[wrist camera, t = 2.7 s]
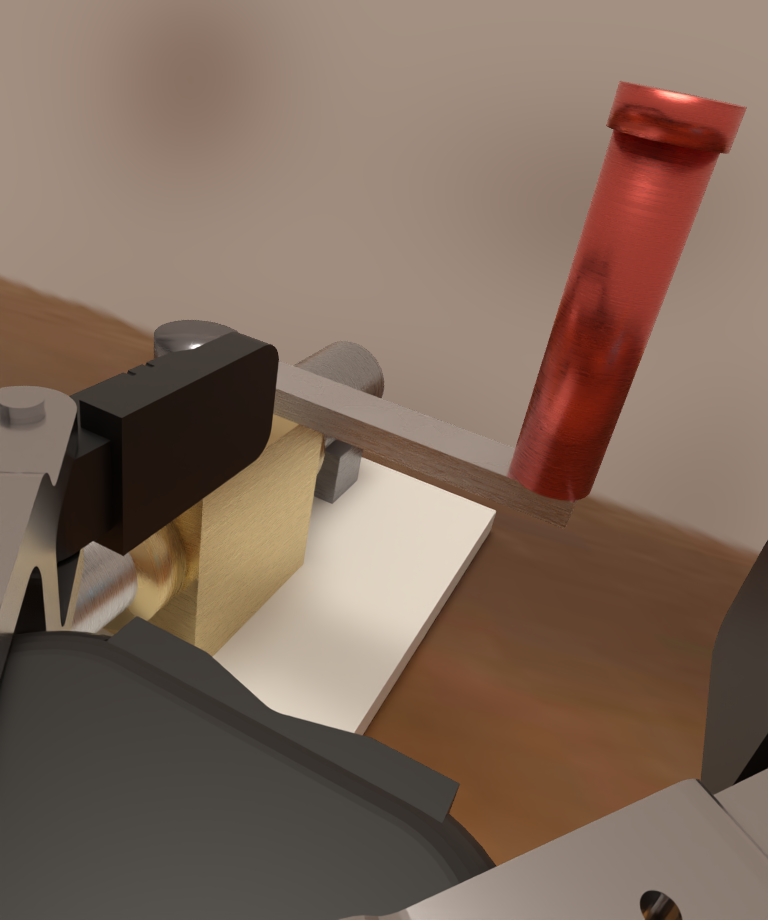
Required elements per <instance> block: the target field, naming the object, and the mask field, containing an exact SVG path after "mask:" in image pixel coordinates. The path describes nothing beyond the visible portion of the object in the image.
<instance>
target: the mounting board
mask: <svg viewBox="0 0 768 920" xmlns="http://www.w3.org/2000/svg"><path fill="white" fill-rule="evenodd" d="M495 514H496V511H495V510H493V509H490V508H488V507H485V506H483V505H480V504H478V503H475V502H473V501H470V500H468V499H465V498H463V497H460V496H458V495H455V494H453V493H450V492H448V491H445V490H443V489H440V488H437V487H435V486H432V485H430V484H427V483H425V482H422V481H420V480H417V479H415V478H412V477H410V476H407V475H405V474H402V473H400V472H397V471H395V470H392V469H390V468H387V467H385V466H382V465H380V464H377V463H375V462H372V461H370V460H367V459H365V458H362V457H361V463H360V468H359V473H358V479H357V481H356V482H355V483H354V484H353V485H352V486H351V487H350V488H349V489H348V490H347V491H346V492H345V493H344V494H343V495H341V496H340V497H339V498H338V499H337V500H336V501H335V502H334V503H333V504H331V503H329V502H326V501H324V500H322V499H319V498H317V497H314V496H313V503H312V510H311V516H310V523H309V530H308V536H307V543H306V550H305V556H304V563H303V565H302V566H301V567H300V568H299V569H298V570H297V571H296V572H295V573H294V574H293V575H292V576H291V577H290V578H289V579H288V580H287V581H286V582H285V583H284V584H283V585H282V586H281V587H280V588H279V590H278V591H277V592H276V593H275V594H274V595H273V596H272V597H271V598H270V599H269V600H268V601H267V602H266V603H265V604H264V605H263V606H262V607H261V608H260V609H259V610H258V611H257V612H256V613H255V614H254V615H253V616H252V617H251V618H250V619H249V620H248V621H247V622H246V623H245V624H244V625H243V626H242V627H241V628H240V629H239V630H238V631H237V632H236V633H235V634H234V635H233V636H232V637H231V638H230V640H229V641H228V642H227V643H226V644H225V645H224V646H223V647H222V648H221V649H220V650H219V651H218V652H217V653H216V654H215V655H214V656H213V658H214V659H215V660H216V661H218V662H219V663H220V664H221V665H222V666H223V667H224V668H225V669H226V670H227V671H229V672H230V673H231V674H232V675H233V676H234V677H235V678H236V679H237V680H239V681H240V682H241V683H242V684H243V685H244V686H245V687H246V688H247V689H249V690H250V691H251V692H252V693H253V694H254V695H255V696H256V697H257V698H259V699H260V700H261V701H262V702H263V703H264V704H265V705H266V706H268V707H269V708H270V709H272V710H274V711H276V712H279V713H282V714H285V715H289V716H292V717H296V718H300V719H303V720H307V721H311V722H315V723H318V724H322V725H326V726H329V727H333V728H337V729H341V730H344V731H348V732H352V733H355V734H359V735H363V734H364V732H365V731H366V729H367V727H368V726H369V724H370V723H371V721H372V719H373V718H374V716H375V715H376V713H377V711H378V710H379V708H380V707H381V705H382V703H383V702H384V700H385V699H386V697H387V695H388V694H389V692H390V691H391V689H392V687H393V686H394V684H395V683H396V681H397V679H398V678H399V676H400V675H401V673H402V671H403V670H404V668H405V667H406V665H407V663H408V662H409V660H410V659H411V657H412V655H413V654H414V652H415V651H416V649H417V648H418V646H419V644H420V643H421V641H422V640H423V638H424V636H425V635H426V633H427V632H428V630H429V628H430V627H431V625H432V624H433V622H434V620H435V619H436V617H437V616H438V614H439V612H440V611H441V609H442V608H443V606H444V604H445V603H446V601H447V600H448V598H449V596H450V595H451V593H452V592H453V590H454V588H455V587H456V585H457V584H458V582H459V580H460V579H461V577H462V576H463V574H464V572H465V571H466V569H467V568H468V566H469V564H470V563H471V561H472V560H473V558H474V556H475V555H476V553H477V552H478V550H479V548H480V547H481V545H482V544H483V542H484V540H485V539H486V537H487V536H488V534H489V532H490V530H491V527H492V524H493V520H494V517H495ZM97 634H104V635H108V636H113V635H114V634H112V633H110V632H108V631H106V630H104V629H103V628H102V629H101V630H99V631H98V632H97Z"/></svg>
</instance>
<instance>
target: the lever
mask: <svg viewBox="0 0 768 920" xmlns="http://www.w3.org/2000/svg"><path fill="white" fill-rule="evenodd" d="M745 111H746V107H743V106H739V105H735V104H730V103H726V102H722V101H717V100H713V99H708V98H703V97H699V96H694V95H689V94H685V93H679V92H675V91H670V90H665V89H660V88H655V87H650V86H645V85H640V84H634V83H629V82H623V81H620V82H619V85H618V89H617V92H616V96H615V98H614V102H613V105H612V108H611V112H610V115H609V118H608V122H607V125H606V126H607V127H609V128H611V129H614V130H613V133H612V136H611V140H610V143H609V146H608V149H607V153H606V156H605V159H604V162H603V165H602V169H601V172H600V175H599V179H598V182H597V185H596V188H595V192H594V195H593V198H592V201H591V204H590V208H589V211H588V214H587V217H586V221H585V224H584V227H583V230H582V234H581V237H580V240H579V244H578V247H577V250H576V253H575V256H574V260H573V263H572V266H571V269H570V273H569V276H568V279H567V283H566V286H565V289H564V292H563V296H562V299H561V302H560V305H559V308H558V312H557V315H556V318H555V321H554V325H553V328H552V331H551V334H550V338H549V341H548V344H547V347H546V351H545V354H544V357H543V360H542V364H541V367H540V370H539V373H538V377H537V380H536V384H535V386H534V390H533V393H532V396H531V399H530V402H529V406H528V409H527V412H526V416H525V419H524V422H523V425H522V429H521V432H520V435H519V438H518V441H517V445H516V448H514V447H511V446H508V445H505V444H503V443H500V442H498V441H495V440H492V439H489V438H487V437H484V436H481V435H478V434H476V433H473V432H470V431H468V430H465V429H462V428H460V427H457V426H454V425H452V424H449V423H446V422H443V421H441V420H438V419H435V418H433V417H430V416H427V415H424V414H422V413H419V412H416V411H414V410H411V409H408V408H405V407H403V406H400V405H397V404H395V403H392V402H389V401H387V400H384V399H381V398H378V397H376V396H373V395H370V394H368V393H365V392H362V391H360V390H357V389H354V388H351V387H349V386H346V385H343V384H341V383H338V382H335V381H333V380H330V379H327V378H324V377H322V376H319V375H316V374H314V373H311V372H308V371H305V370H303V369H300V368H297V367H295V366H292V365H289V364H286V363H283V362H281V361H279V365H278V374H277V383H276V393H275V402H274V411H273V414H274V415H277V416H279V417H282V418H284V419H287V420H289V421H292V422H294V423H297V424H299V425H302V426H305V427H307V428H310V429H312V430H315V431H317V432H320V433H322V434H325V435H327V436H330V437H332V438H335V439H337V440H340V441H343V442H345V443H348V444H350V445H353V446H355V447H358V448H360V449H363V450H365V451H368V452H370V453H373V454H375V455H378V456H381V457H383V458H386V459H388V460H391V461H393V462H396V463H398V464H401V465H403V466H406V467H408V468H411V469H413V470H416V471H418V472H421V473H424V474H426V475H429V476H431V477H434V478H436V479H439V480H441V481H444V482H446V483H449V484H451V485H454V486H456V487H459V488H462V489H464V490H467V491H469V492H472V493H474V494H477V495H479V496H482V497H484V498H487V499H489V500H492V501H494V502H497V503H499V504H502V505H505V506H507V507H510V508H512V509H515V510H517V511H520V512H522V513H525V514H527V515H530V516H532V517H535V518H537V519H540V520H543V521H545V522H548V523H550V524H553V525H555V526H558V527H560V528H563V529H565V527H566V525H567V523H568V520H569V518H570V516H571V514H572V512H573V509H574V507H575V505H576V503H577V501H578V500H579V499H582V498H584V497H586V496H587V495H588V494H589V493H590V491H591V489H592V486H593V484H594V481H595V478H596V476H597V473H598V471H599V468H600V465H601V463H602V460H603V457H604V455H605V452H606V449H607V447H608V444H609V442H610V439H611V437H612V434H613V431H614V429H615V426H616V423H617V421H618V418H619V416H620V413H621V410H622V408H623V405H624V403H625V400H626V397H627V394H628V392H629V389H630V387H631V384H632V381H633V379H634V376H635V373H636V371H637V368H638V366H639V363H640V361H641V358H642V355H643V353H644V350H645V348H646V345H647V342H648V340H649V337H650V335H651V332H652V329H653V327H654V324H655V321H656V318H657V316H658V314H659V310H660V308H661V305H662V303H663V301H664V298H665V295H666V293H667V290H668V287H669V285H670V282H671V279H672V277H673V274H674V272H675V269H676V266H677V264H678V261H679V259H680V256H681V253H682V251H683V248H684V246H685V243H686V240H687V238H688V235H689V233H690V230H691V227H692V225H693V222H694V219H695V217H696V214H697V212H698V209H699V206H700V204H701V201H702V199H703V196H704V193H705V191H706V188H707V185H708V183H709V180H710V177H711V175H712V172H713V170H714V167H715V165H716V162H717V159H718V157H719V154H720V153H729V152H730V150H731V147H732V144H733V142H734V139H735V137H736V134H737V132H738V129H739V126H740V124H741V121H742V118H743V116H744V113H745ZM230 332H237V331H236V330H234V329H231V328H230V327H227V326H224V325H221V324H218V323H213V322H208V321H199V320H182V321H174V322H170V323H166V324H164V325H161V326H160V327H158V328H157V329H156V330H155V332H154V359H156V358H158V357H160V356H163V355H165V354H167V353H170V352H176V351H182V350H188V349H194V348H196V347H198V346H201V345H203V344H205V343H207V342H210V341H212V340H214V339H216V338H219V337H221V336H223V335H225V334H228V333H230Z"/></svg>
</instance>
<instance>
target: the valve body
mask: <svg viewBox="0 0 768 920" xmlns="http://www.w3.org/2000/svg"><path fill="white" fill-rule="evenodd" d="M294 366H295V367H297V368H300V369H303V370H305V371H308V372H311V373H314V374H316V375H319V376H322V377H324V378H327V379H330V380H333V381H335V382H338V383H341V384H343V385H346V386H349V387H351V388H354V389H357V390H360V391H362V392H365V393H368V394H370V395H373V396H376V397H378V398H382V395H383V392H384V378H383V374H382V370H381V368H380V366H379V364H378V362H377V360H376V359H375V358H374V357H373V356H372V354H371V353H370V352H369V351H367V350H366V349H365V348H363V347H362V346H360V345H358V344H356V343H352V342H348V341H339V342H335V343H332V344H330V345H328V346H326V347H325V348H323V349H321V350H320V351H318V352H316V353H314V354H313V355H311V356H309V357H307V358H306V359H304V360H302V361H300V362H299V363H297V364H295V365H294ZM362 452H363V449H360V448H358V447H355V446H353V445H350V444H348V443H345V442H343V441H340V440H337V439H335V438H332V437H330V436H327V435H325V434H322V433H320V432H317V431H315V430H312V429H310V428H307V427H305V426H302V425H299V424H297V423H294V422H292V421H289V420H287V419H284V418H282V417H279V416H277V415H274V414H273V420H272V429H271V434H270V437H269V440H268V443H267V445H266V447H265V449H264V451H263V452H262V454H261V455H260V456H259V458H258V459H257V460H256V461H254V462H253V463H252V464H250V465H249V466H248V467H246V468H245V469H244V470H242V471H241V472H239V473H238V474H237V475H235V476H234V477H232V478H231V479H230V480H228V481H227V482H225V483H224V484H223V485H221V486H220V487H219V488H217V489H216V490H214V491H213V492H212V493H210V494H209V495H207V496H206V497H205V498H203V499H202V500H201V501H199V502H198V503H196V504H195V505H194V506H192V507H191V508H189V509H188V510H187V511H185V512H184V513H183V514H181V515H180V516H178V517H177V518H176V519H174V520H173V521H171V522H170V523H169V524H167V525H166V526H164V527H163V528H162V529H160V530H159V531H158V532H156V533H155V534H153V535H152V536H151V537H149V538H148V539H146V540H145V541H144V542H142V543H141V544H140V545H138V546H137V547H135V548H134V549H133V550H131V551H130V552H128V553H127V554H126V555H124V556H122V555H120V554H118V553H116V552H114V551H112V550H110V549H108V548H106V547H104V546H102V545H100V544H98V543H96V542H94V541H93V542H91V543H90V544H88V545H87V546H85V547H84V568H83V573H82V578H81V583H80V588H79V593H78V598H77V603H76V608H75V613H74V618H73V623H72V628H71V631H82V632H90V633H97V632H98V631H99V630H101V629H102V628H103V629H104V630H106V631H108V632H110V633H112V634H116V633H117V632H118V631H119V630H120V629H122V628H123V627H124V626H125V625H126V624H128V623H129V622H130V621H131V620H132V619H134V618H135V617H136V616H138V617H140V618H142V619H144V620H146V621H148V622H150V623H152V624H154V625H155V626H157V627H159V628H161V629H163V630H165V631H167V632H169V633H171V634H173V635H175V636H177V637H179V638H180V639H182V640H184V641H186V642H188V643H190V644H192V645H194V646H196V647H198V648H200V649H202V650H204V651H205V652H207V653H209V654H210V655H211V656H212V657H213V656H214V655H215V654H216V653H217V652H218V651H219V650H220V649H221V648H222V647H223V646H224V645H225V644H226V643H227V642H228V641H229V640H230V638H231V637H232V636H233V635H234V634H235V633H236V632H237V631H238V630H239V629H240V628H241V627H242V626H243V625H244V624H245V623H246V622H247V621H248V620H249V619H250V618H251V617H252V616H253V615H254V614H255V613H256V612H257V611H258V610H259V609H260V608H261V607H262V606H263V605H264V604H265V603H266V602H267V601H268V600H269V599H270V598H271V597H272V596H273V595H274V594H275V593H276V592H277V591H278V590H279V588H280V587H281V586H282V585H283V584H284V583H285V582H286V581H287V580H288V579H289V578H290V577H291V576H292V575H293V574H294V573H295V572H296V571H297V570H298V569H299V568H300V567H301V566H302V565H303V563H304V556H305V550H306V543H307V536H308V530H309V523H310V516H311V510H312V503H313V496H314V497H317V498H319V499H322V500H324V501H326V502H329V503H331V504H333V503H334V502H335V501H336V500H337V499H338V498H339V497H340V496H341V495H343V494H344V493H345V492H346V491H347V490H348V489H349V488H350V487H351V486H352V485H353V484H354V483H355V482H356V481H357V479H358V473H359V468H360V463H361V457H362Z"/></svg>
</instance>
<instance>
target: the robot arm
mask: <svg viewBox="0 0 768 920" xmlns="http://www.w3.org/2000/svg"><path fill="white" fill-rule="evenodd" d="M278 365H279V357H278V352H277V349H276V348H275V347H274V346H273V345H271V344H268V343H265V342H262V341H260V340H257V339H254V338H251V337H249V336H246V335H243V334H240V333H238V332H230V333H228V334H225V335H223V336H221V337H219V338H216V339H214V340H212V341H210V342H207V343H205V344H203V345H201V346H198V347H196V348H194V349H188V350H182V351H176V352H170V353H167V354H165V355H163V356H160V357H158V358H156V359H153V360H151V361H149V362H147V363H146V365H140V366H137V367H135V368H133V369H130V370H128V373H127V374H126V373H121V374H119V375H117V376H114V377H112V378H110V379H107V380H105V381H103V382H101V383H98V384H96V385H94V386H91V387H89V388H87V389H84V390H82V391H80V392H78V393H75V394H73V395H71V396H67V395H66V394H64V393H62V392H59V391H56V390H53V389H49V388H44V387H36V386H12V387H4V388H0V920H768V541H767V542H766V544H765V545H764V547H763V549H762V551H761V553H760V554H759V556H758V558H757V560H756V562H755V563H754V565H753V567H752V569H751V571H750V572H749V574H748V576H747V578H746V580H745V581H744V583H743V585H742V587H741V589H740V590H739V592H738V594H737V596H736V598H735V599H734V601H733V603H732V605H731V607H730V608H729V610H728V612H727V614H726V616H725V618H724V620H723V622H722V625H721V627H720V630H719V632H718V635H717V638H716V641H715V645H714V649H713V654H712V664H711V675H710V686H709V697H708V707H707V718H706V729H705V740H704V751H703V762H702V772H701V781H700V780H698V779H688V780H684V781H681V782H679V783H676V784H674V785H672V786H670V787H668V788H665V789H663V790H661V791H659V792H657V793H655V794H652V795H650V796H648V797H646V798H644V799H642V800H639V801H637V802H635V803H633V804H631V805H629V806H626V807H624V808H622V809H620V810H618V811H616V812H613V813H611V814H609V815H607V816H605V817H603V818H601V819H598V820H596V821H594V822H592V823H590V824H588V825H585V826H583V827H581V828H579V829H577V830H575V831H572V832H570V833H568V834H566V835H564V836H562V837H559V838H557V839H555V840H553V841H551V842H549V843H547V844H544V845H542V846H540V847H538V848H536V849H534V850H531V851H529V852H527V853H525V854H523V855H521V856H518V857H516V858H514V859H512V860H510V861H508V862H505V863H503V864H501V865H499V866H496V865H495V864H494V862H493V861H492V859H491V858H490V857H489V855H488V854H487V853H486V851H485V850H484V849H483V847H482V846H481V845H480V844H479V843H478V842H477V841H476V840H475V839H474V837H473V836H472V835H471V834H470V833H469V832H468V831H467V830H466V829H465V828H464V827H463V826H462V825H461V824H460V823H459V822H458V821H456V820H455V819H454V818H453V817H452V816H451V815H450V814H449V812H450V809H451V807H452V804H453V801H454V798H455V796H456V793H457V790H458V787H459V785H460V784H459V783H457V782H455V781H453V780H452V779H450V778H448V777H446V776H444V775H442V774H440V773H438V772H436V771H434V770H432V769H430V768H428V767H427V766H425V765H423V764H421V763H419V762H417V761H415V760H413V759H411V758H409V757H407V756H405V755H403V754H402V753H400V752H398V751H396V750H394V749H392V748H390V747H388V746H386V745H384V744H382V743H380V742H378V741H377V740H375V739H373V738H370V737H367V736H363V735H359V734H355V733H352V732H348V731H344V730H341V729H337V728H333V727H329V726H326V725H322V724H318V723H315V722H311V721H307V720H303V719H300V718H296V717H292V716H289V715H285V714H282V713H279V712H276V711H274V710H272V709H270V708H269V707H268V706H266V705H265V704H264V703H263V702H262V701H261V700H260V699H259V698H257V697H256V696H255V695H254V694H253V693H252V692H251V691H250V690H249V689H247V688H246V687H245V686H244V685H243V684H242V683H241V682H240V681H239V680H237V679H236V678H235V677H234V676H233V675H232V674H231V673H230V672H229V671H227V670H226V669H225V668H224V667H223V666H222V665H221V664H220V663H219V662H218V661H216V660H215V659H214V658H213V657H212V656H211V655H210V654H209V653H207V652H205V651H204V650H202V649H200V648H198V647H196V646H194V645H192V644H190V643H188V642H186V641H184V640H182V639H180V638H179V637H177V636H175V635H173V634H171V633H169V632H167V631H165V630H163V629H161V628H159V627H157V626H155V625H154V624H152V623H150V622H148V621H146V620H144V619H142V618H140V617H138V616H136V617H135V618H134V619H132V620H131V621H130V622H129V623H128V624H126V625H125V626H124V627H123V628H122V629H120V630H119V631H118V632H117V633H116V634H114V635H113V636H108V635H104V634H97V633H90V632H82V631H71V628H72V623H73V618H74V613H75V608H76V603H77V598H78V593H79V588H80V583H81V578H82V573H83V568H84V547H85V546H87V545H88V544H90V543H91V542H93V541H94V542H96V543H98V544H100V545H102V546H104V547H106V548H108V549H110V550H112V551H114V552H116V553H118V554H120V555H122V556H124V555H126V554H127V553H128V552H130V551H131V550H133V549H134V548H135V547H137V546H138V545H140V544H141V543H142V542H144V541H145V540H146V539H148V538H149V537H151V536H152V535H153V534H155V533H156V532H158V531H159V530H160V529H162V528H163V527H164V526H166V525H167V524H169V523H170V522H171V521H173V520H174V519H176V518H177V517H178V516H180V515H181V514H183V513H184V512H185V511H187V510H188V509H189V508H191V507H192V506H194V505H195V504H196V503H198V502H199V501H201V500H202V499H203V498H205V497H206V496H207V495H209V494H210V493H212V492H213V491H214V490H216V489H217V488H219V487H220V486H221V485H223V484H224V483H225V482H227V481H228V480H230V479H231V478H232V477H234V476H235V475H237V474H238V473H239V472H241V471H242V470H244V469H245V468H246V467H248V466H249V465H250V464H252V463H253V462H254V461H256V460H257V459H258V458H259V456H260V455H261V454H262V452H263V451H264V449H265V447H266V445H267V443H268V440H269V437H270V434H271V429H272V420H273V411H274V402H275V393H276V383H277V374H278Z"/></svg>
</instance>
